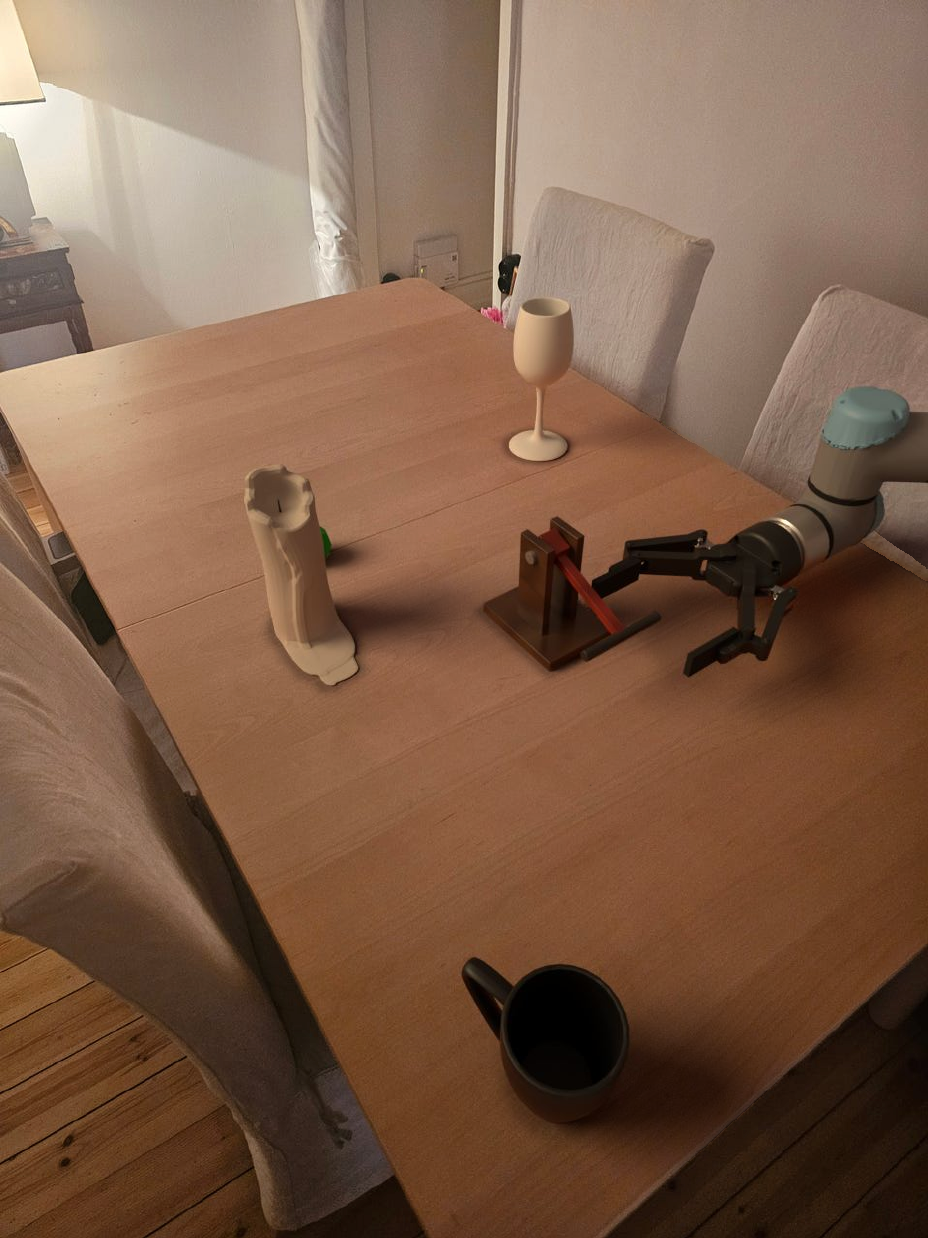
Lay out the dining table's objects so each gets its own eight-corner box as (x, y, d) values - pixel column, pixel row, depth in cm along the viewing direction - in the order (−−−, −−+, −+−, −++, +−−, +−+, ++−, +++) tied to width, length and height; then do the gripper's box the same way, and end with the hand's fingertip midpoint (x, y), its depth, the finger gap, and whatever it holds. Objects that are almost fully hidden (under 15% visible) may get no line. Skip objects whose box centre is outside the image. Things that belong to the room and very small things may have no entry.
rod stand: (611, 637, 92) (624, 546, 83) (549, 671, 88) (556, 580, 79) (542, 582, 99) (548, 493, 91) (483, 611, 95) (483, 521, 87)
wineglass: (497, 450, 122) (499, 310, 107) (528, 425, 127) (534, 288, 112) (548, 468, 118) (557, 325, 104) (577, 441, 123) (590, 302, 109)
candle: (314, 694, 86) (283, 542, 73) (265, 619, 95) (229, 470, 81) (375, 667, 89) (356, 515, 75) (321, 597, 98) (296, 449, 84)
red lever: (656, 626, 85) (665, 614, 83) (584, 667, 81) (591, 655, 79) (576, 528, 90) (582, 514, 88) (503, 561, 86) (509, 548, 84)
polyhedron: (289, 552, 104) (283, 521, 101) (327, 543, 105) (322, 512, 102) (298, 575, 101) (292, 544, 97) (337, 566, 102) (333, 535, 99)
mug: (502, 966, 65) (504, 906, 58) (635, 1070, 59) (654, 1016, 53) (434, 1053, 60) (428, 998, 54) (572, 1174, 54) (584, 1129, 48)
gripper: (861, 637, 87) (725, 728, 78) (687, 525, 102) (556, 590, 93) (885, 582, 82) (742, 673, 73) (698, 473, 97) (560, 537, 88)
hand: (637, 627), depth 83 cm, fingers open, 13 cm apart
